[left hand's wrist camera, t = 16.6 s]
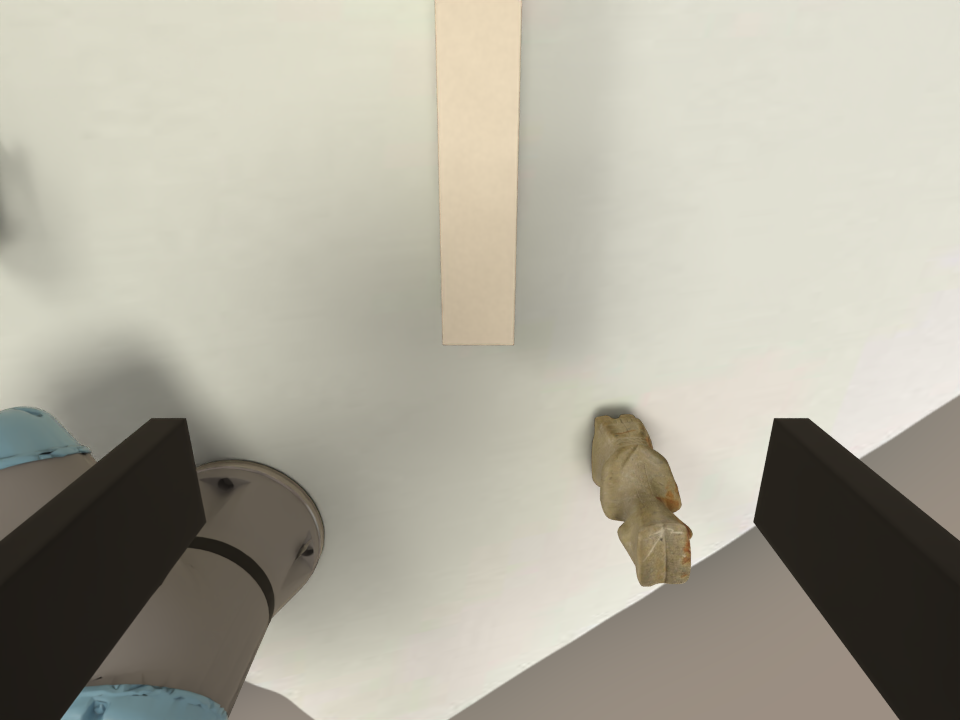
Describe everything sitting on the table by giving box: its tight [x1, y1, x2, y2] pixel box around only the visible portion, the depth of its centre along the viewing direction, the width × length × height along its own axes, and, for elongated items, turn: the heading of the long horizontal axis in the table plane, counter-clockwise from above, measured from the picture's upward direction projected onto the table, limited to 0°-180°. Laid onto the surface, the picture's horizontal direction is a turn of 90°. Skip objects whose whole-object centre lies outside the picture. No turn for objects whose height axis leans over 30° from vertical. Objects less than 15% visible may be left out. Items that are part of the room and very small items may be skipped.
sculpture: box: [592, 414, 693, 587], centre depth 44 cm, size 6×7×15 cm
